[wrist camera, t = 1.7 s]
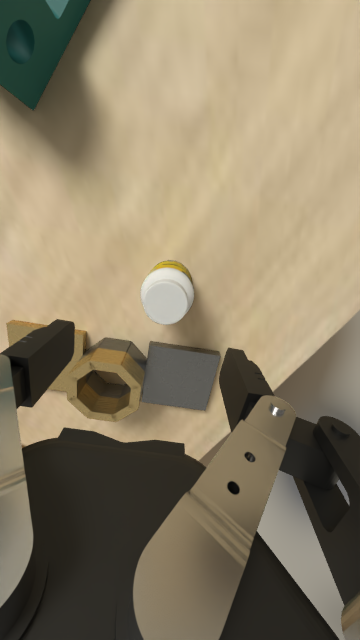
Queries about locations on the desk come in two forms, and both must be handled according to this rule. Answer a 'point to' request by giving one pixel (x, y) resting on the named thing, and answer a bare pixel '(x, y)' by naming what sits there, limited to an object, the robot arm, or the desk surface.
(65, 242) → the desk surface
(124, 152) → the desk surface
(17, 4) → the bracket
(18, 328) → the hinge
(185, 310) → the supplement bottle
